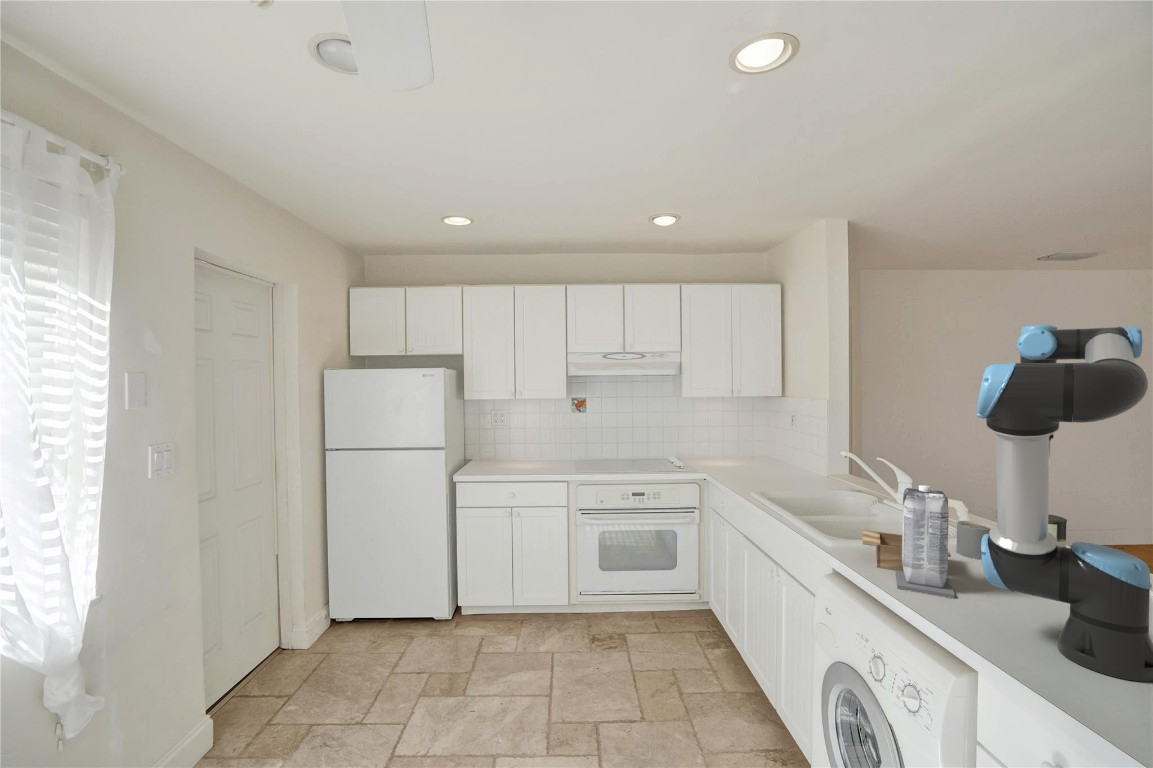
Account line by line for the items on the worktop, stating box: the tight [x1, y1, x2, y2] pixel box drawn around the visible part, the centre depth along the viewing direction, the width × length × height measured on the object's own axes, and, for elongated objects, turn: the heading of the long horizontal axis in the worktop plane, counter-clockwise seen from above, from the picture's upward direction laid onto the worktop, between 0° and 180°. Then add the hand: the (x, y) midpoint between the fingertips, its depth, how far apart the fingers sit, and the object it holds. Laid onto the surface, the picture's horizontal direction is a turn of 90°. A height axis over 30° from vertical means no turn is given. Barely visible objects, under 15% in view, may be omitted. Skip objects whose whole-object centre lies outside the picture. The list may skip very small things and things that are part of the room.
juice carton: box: [901, 484, 950, 588], centre depth 148 cm, size 9×10×27 cm
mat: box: [895, 570, 956, 599], centre depth 149 cm, size 13×13×1 cm
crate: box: [862, 529, 952, 571], centre depth 165 cm, size 16×23×7 cm
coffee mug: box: [955, 520, 995, 561], centre depth 173 cm, size 13×10×10 cm
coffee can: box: [1048, 513, 1068, 548], centre depth 169 cm, size 10×10×14 cm
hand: (1035, 461), depth 142 cm, fingers open, 13 cm apart
